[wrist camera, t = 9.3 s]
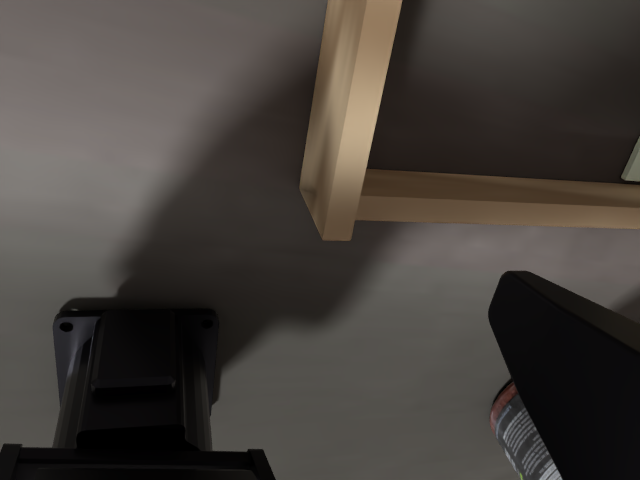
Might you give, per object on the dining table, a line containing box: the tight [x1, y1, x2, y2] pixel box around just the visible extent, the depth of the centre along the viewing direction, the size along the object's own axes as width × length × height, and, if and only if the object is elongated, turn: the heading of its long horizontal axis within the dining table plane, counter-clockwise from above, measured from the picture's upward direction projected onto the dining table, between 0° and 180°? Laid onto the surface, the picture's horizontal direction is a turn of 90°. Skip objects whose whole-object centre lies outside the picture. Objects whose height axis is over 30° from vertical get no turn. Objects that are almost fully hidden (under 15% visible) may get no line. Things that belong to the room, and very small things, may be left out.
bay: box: [299, 0, 640, 241], centre depth 20 cm, size 14×21×4 cm, turn 81°
